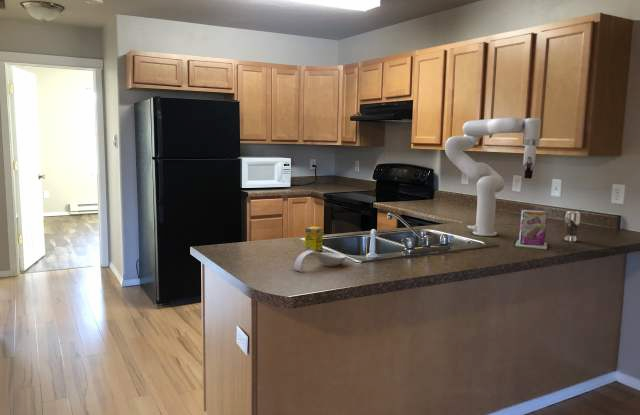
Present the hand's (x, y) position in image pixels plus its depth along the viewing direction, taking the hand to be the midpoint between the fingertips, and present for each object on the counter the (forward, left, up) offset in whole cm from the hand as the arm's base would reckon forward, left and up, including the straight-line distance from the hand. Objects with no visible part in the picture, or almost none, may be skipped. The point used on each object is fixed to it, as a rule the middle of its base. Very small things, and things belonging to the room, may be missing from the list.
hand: (528, 177), depth 257 cm
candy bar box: (+4, -10, -32) cm, 34 cm away
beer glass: (+22, +12, -32) cm, 41 cm away
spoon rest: (-71, -96, -32) cm, 124 cm away
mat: (+4, -10, -32) cm, 34 cm away
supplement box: (-84, -74, -32) cm, 117 cm away
